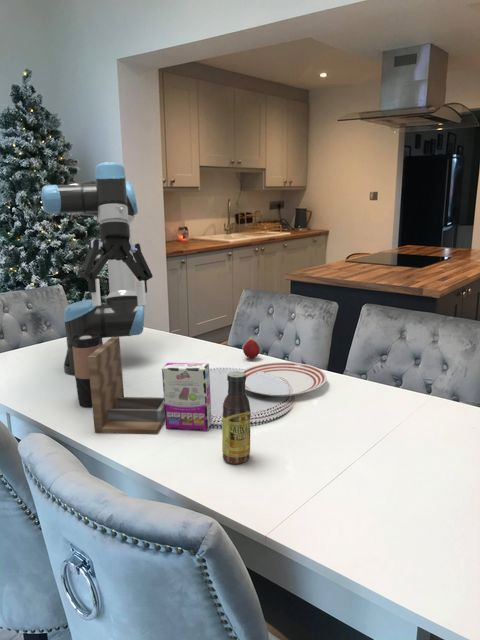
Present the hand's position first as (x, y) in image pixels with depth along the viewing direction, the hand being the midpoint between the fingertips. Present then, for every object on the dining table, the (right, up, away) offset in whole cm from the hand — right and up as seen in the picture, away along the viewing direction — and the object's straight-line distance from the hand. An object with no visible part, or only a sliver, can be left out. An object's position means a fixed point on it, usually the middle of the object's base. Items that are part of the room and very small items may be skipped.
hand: (120, 305), depth 134 cm
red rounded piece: (+35, -18, +52) cm, 65 cm away
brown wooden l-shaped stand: (+3, -30, +5) cm, 30 cm away
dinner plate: (+43, -24, +27) cm, 56 cm away
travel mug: (-12, -28, +17) cm, 34 cm away
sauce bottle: (+30, -35, -17) cm, 49 cm away
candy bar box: (+18, -31, 0) cm, 36 cm away
